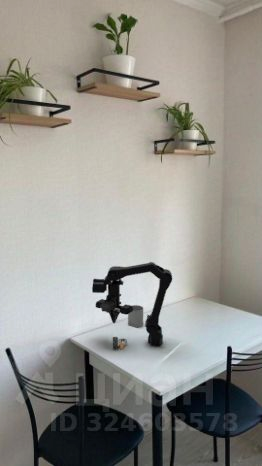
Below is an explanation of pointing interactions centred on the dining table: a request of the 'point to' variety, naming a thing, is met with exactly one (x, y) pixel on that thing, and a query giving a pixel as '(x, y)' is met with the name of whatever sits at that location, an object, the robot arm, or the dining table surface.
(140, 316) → the cup
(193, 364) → the dining table surface
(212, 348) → the dining table surface
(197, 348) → the dining table surface
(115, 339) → the crank
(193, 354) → the dining table surface
